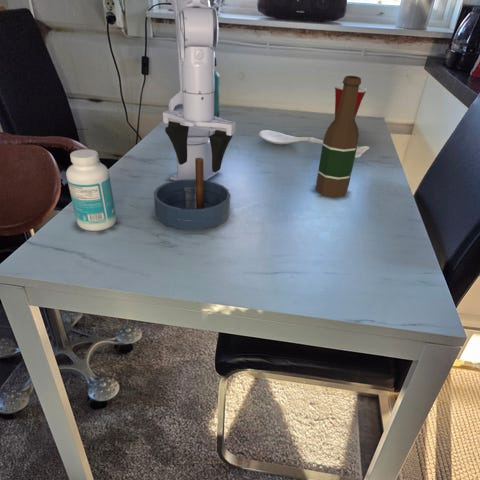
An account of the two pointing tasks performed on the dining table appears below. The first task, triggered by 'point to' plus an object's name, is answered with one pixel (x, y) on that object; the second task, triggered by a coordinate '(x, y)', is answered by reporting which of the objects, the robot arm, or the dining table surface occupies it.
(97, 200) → the pill bottle
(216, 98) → the beverage bottle
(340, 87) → the plastic cup
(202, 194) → the stirring stick
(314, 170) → the dining table surface
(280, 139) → the spoon
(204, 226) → the bowl
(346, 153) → the beer bottle
